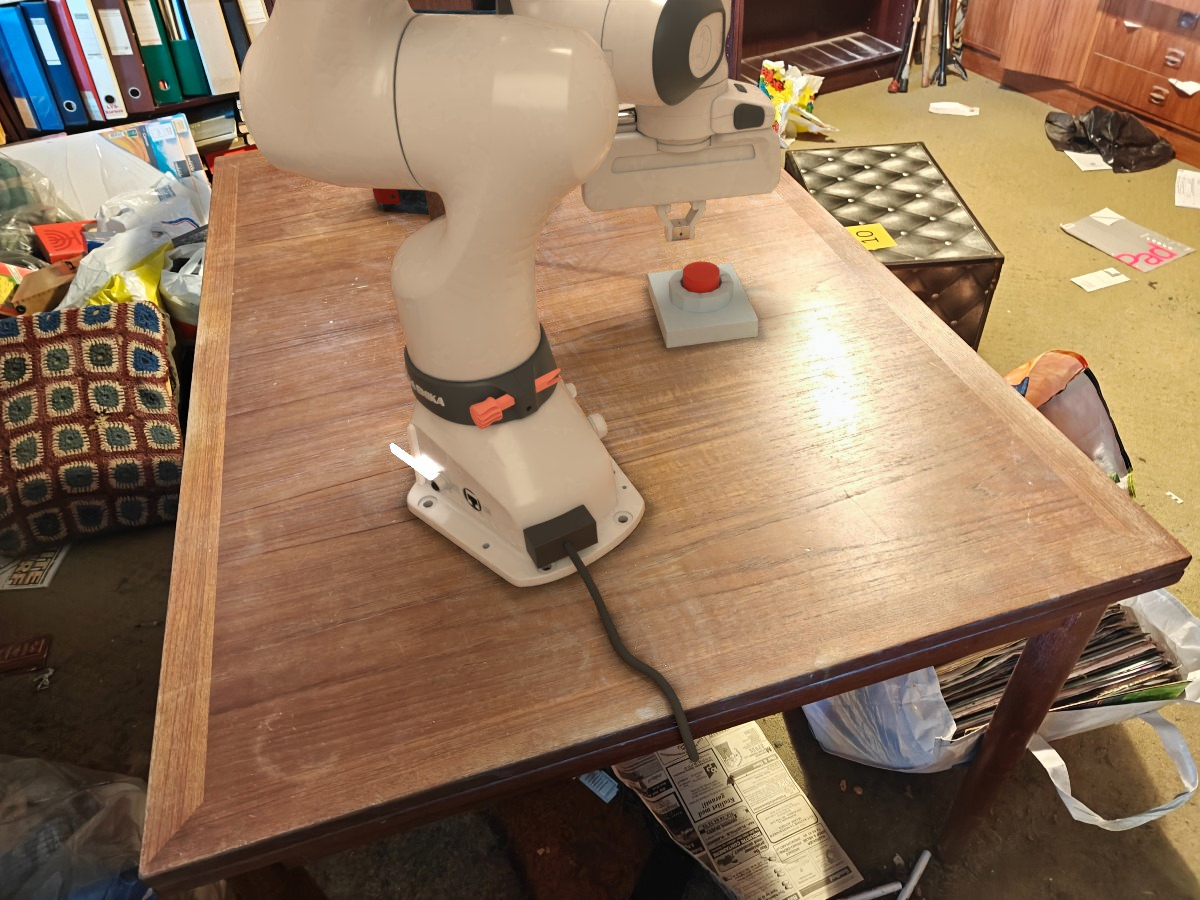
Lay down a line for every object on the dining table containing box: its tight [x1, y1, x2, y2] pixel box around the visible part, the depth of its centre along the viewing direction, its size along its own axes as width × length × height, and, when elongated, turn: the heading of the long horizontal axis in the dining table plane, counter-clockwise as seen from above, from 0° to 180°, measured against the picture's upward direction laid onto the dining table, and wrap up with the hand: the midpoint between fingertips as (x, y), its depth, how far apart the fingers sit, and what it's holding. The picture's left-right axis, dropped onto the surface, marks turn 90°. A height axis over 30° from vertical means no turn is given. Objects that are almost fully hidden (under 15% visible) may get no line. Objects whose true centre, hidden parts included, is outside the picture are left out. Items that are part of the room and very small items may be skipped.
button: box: [682, 261, 720, 293], centre depth 94 cm, size 4×4×2 cm
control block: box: [646, 262, 760, 349], centre depth 95 cm, size 12×10×4 cm
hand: (679, 238), depth 91 cm, fingers closed
